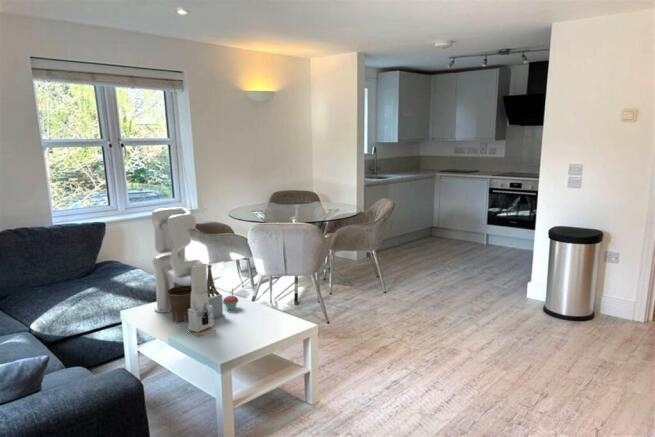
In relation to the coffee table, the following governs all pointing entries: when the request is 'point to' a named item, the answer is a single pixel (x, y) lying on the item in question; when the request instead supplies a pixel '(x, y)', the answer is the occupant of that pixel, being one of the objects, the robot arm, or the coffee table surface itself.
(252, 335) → the coffee table surface
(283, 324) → the coffee table surface
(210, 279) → the eiffel tower
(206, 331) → the coaster
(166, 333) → the coffee table surface
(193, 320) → the light bulb box
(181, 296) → the plant pot
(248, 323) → the coffee table surface
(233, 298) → the cupcake
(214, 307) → the screen
